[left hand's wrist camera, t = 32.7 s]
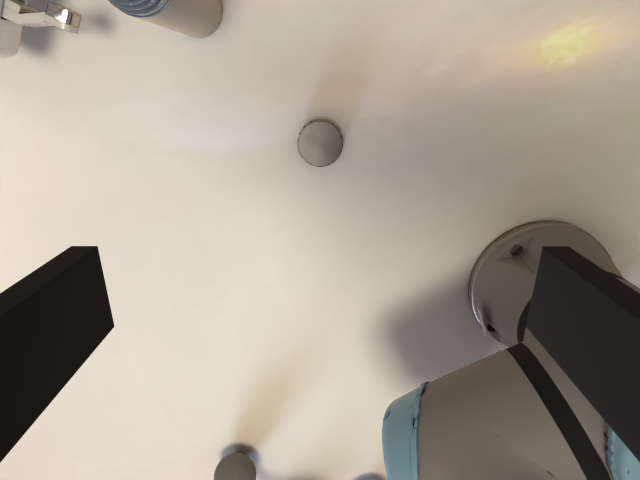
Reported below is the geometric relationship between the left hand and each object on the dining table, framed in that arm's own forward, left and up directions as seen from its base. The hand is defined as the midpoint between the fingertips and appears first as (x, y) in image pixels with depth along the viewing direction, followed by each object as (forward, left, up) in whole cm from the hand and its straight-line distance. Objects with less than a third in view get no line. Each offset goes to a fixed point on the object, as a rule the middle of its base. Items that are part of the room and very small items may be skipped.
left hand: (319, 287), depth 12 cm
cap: (0, 0, -30) cm, 30 cm away
